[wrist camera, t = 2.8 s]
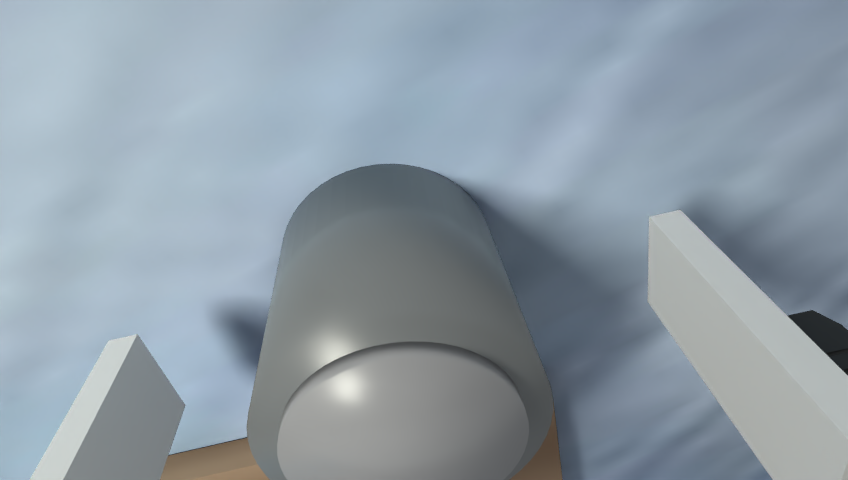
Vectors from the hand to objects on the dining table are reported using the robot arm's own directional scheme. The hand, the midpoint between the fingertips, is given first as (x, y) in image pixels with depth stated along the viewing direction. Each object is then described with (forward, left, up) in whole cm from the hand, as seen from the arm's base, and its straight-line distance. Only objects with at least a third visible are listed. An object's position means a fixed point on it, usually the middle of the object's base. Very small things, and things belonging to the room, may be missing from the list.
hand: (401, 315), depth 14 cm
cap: (0, 0, -2) cm, 2 cm away
